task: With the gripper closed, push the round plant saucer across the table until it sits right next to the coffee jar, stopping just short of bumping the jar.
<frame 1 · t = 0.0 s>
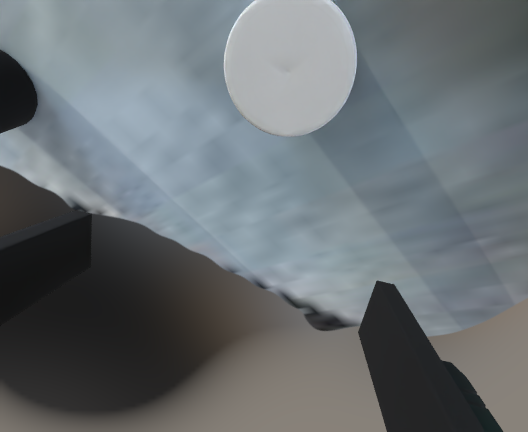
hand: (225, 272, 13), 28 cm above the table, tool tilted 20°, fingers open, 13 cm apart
coffee jar: (6, 84, 40), on the table
supplement tub: (301, 51, 32), on the table
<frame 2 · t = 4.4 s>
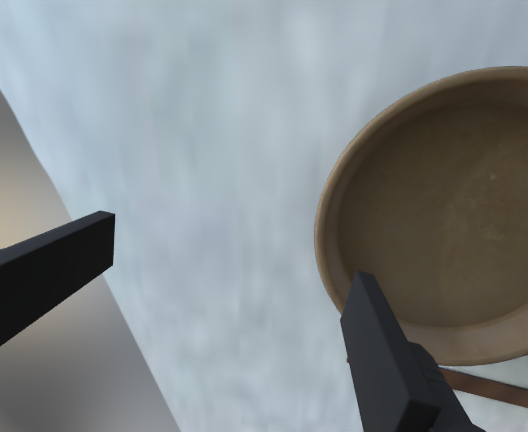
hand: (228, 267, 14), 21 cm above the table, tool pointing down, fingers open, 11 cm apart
plant saucer: (451, 225, 33), on the table
walnut ruler: (461, 381, 38), on the table
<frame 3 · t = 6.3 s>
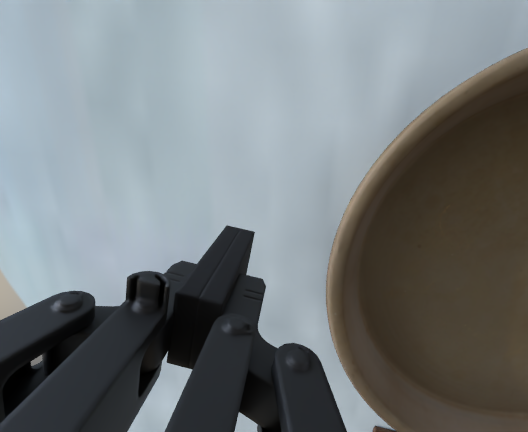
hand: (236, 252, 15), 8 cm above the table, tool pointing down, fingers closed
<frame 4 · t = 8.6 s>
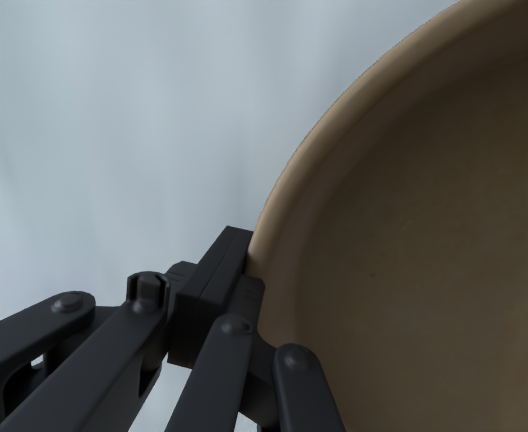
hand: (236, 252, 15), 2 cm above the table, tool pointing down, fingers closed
plant saucer: (523, 303, 16), on the table, touching gripper
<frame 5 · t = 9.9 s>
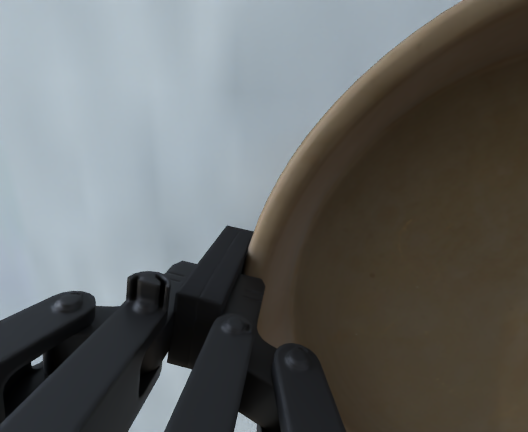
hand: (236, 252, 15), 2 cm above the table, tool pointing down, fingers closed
plant saucer: (522, 304, 16), on the table, touching gripper
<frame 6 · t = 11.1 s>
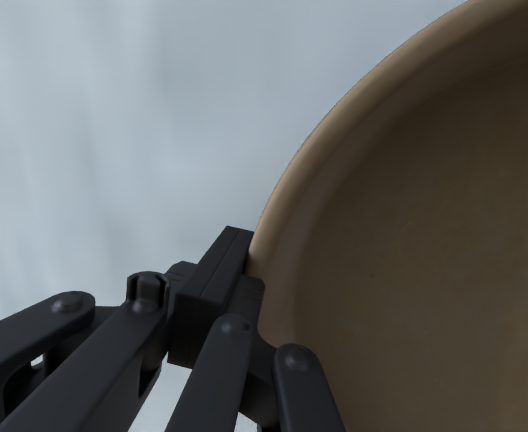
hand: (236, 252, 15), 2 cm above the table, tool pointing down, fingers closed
plant saucer: (521, 305, 16), on the table, touching gripper
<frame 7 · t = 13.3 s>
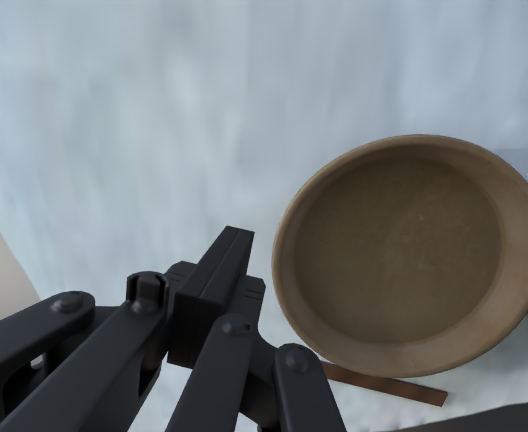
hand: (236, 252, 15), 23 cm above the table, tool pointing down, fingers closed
plant saucer: (391, 256, 38), on the table
walnut ruler: (344, 373, 44), on the table
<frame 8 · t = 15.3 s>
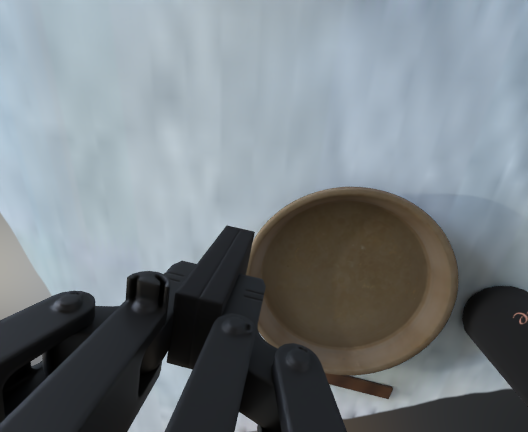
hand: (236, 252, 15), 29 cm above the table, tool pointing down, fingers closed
plant saucer: (341, 276, 47), on the table
coffee jar: (494, 311, 46), on the table
walnut ruler: (308, 371, 53), on the table
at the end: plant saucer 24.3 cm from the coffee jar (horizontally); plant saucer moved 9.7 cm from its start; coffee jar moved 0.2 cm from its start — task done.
